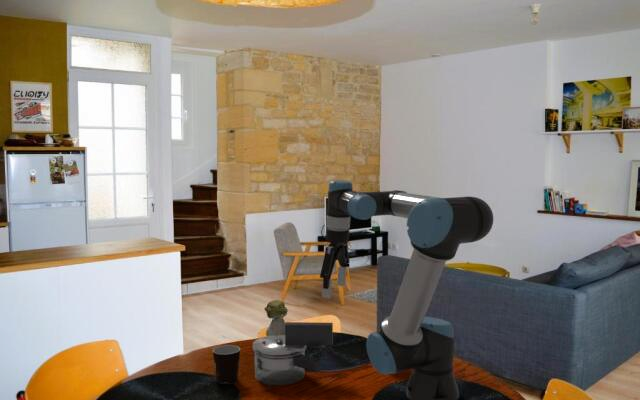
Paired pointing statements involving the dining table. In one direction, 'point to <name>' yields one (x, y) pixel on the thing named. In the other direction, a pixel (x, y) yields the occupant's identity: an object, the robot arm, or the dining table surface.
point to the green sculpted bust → (276, 317)
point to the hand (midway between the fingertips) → (333, 291)
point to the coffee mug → (226, 363)
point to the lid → (295, 339)
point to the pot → (284, 368)
